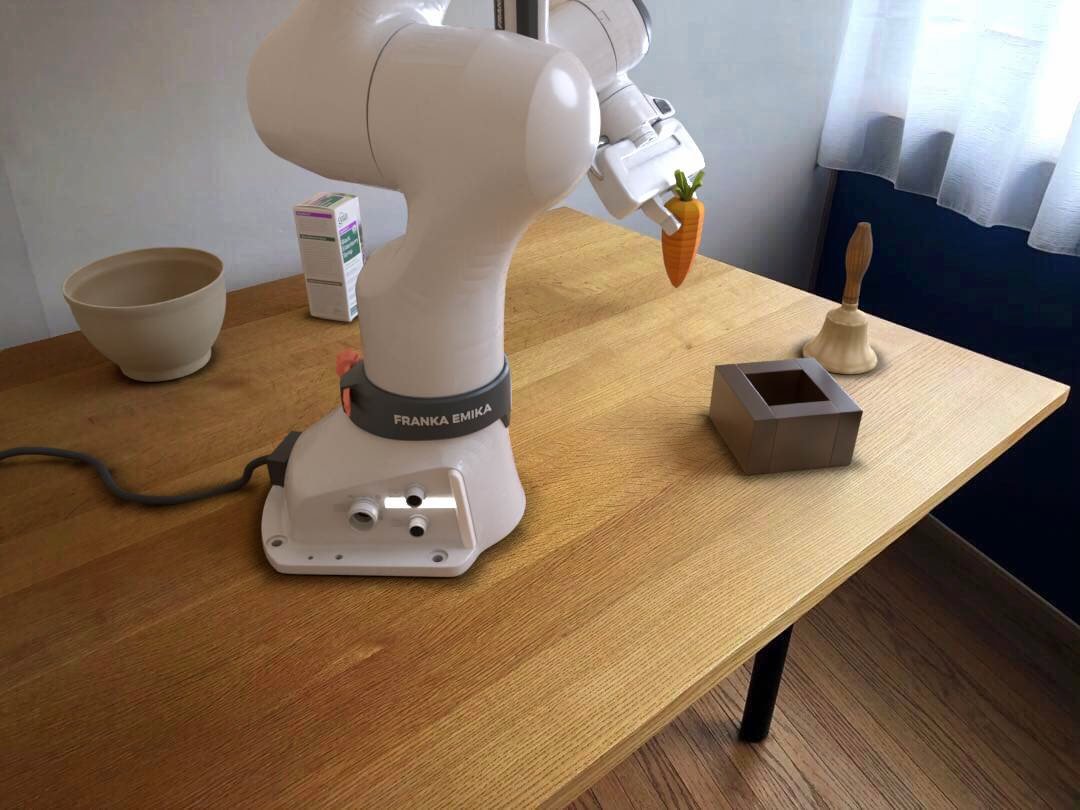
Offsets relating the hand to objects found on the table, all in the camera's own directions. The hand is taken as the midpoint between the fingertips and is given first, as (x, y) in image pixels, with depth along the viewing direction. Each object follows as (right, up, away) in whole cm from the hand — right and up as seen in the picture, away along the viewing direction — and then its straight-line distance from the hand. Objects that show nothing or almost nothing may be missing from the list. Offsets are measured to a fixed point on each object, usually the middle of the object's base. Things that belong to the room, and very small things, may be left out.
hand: (687, 224), depth 103 cm
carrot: (-1, -7, +5) cm, 9 cm away
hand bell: (+17, -16, -4) cm, 24 cm away
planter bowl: (-60, -17, -6) cm, 63 cm away
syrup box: (-43, -10, +6) cm, 45 cm away
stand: (+6, -25, -19) cm, 32 cm away
